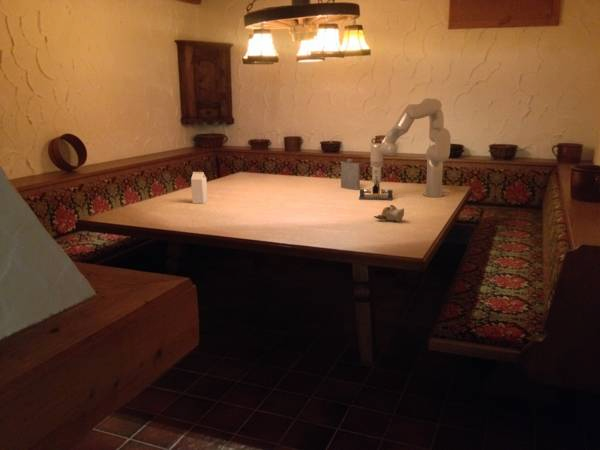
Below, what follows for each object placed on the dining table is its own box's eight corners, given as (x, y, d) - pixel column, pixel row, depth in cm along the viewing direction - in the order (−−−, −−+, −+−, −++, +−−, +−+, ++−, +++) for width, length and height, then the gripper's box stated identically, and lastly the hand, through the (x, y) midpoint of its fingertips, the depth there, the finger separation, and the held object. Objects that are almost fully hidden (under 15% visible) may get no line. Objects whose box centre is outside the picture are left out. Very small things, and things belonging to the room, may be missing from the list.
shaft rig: (392, 197, 330) (392, 187, 328) (392, 200, 321) (392, 190, 320) (360, 196, 334) (360, 187, 332) (359, 199, 326) (359, 189, 324)
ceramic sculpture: (399, 207, 265) (372, 205, 274) (399, 224, 267) (373, 222, 276) (408, 203, 274) (381, 202, 282) (408, 220, 276) (382, 218, 284)
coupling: (379, 195, 329) (380, 184, 327) (379, 196, 325) (379, 186, 323) (372, 195, 330) (372, 184, 328) (372, 196, 326) (372, 185, 324)
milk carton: (203, 203, 323) (201, 173, 318) (192, 203, 324) (190, 172, 320) (207, 201, 330) (205, 171, 325) (197, 201, 331) (195, 170, 326)
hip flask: (360, 189, 356) (360, 159, 351) (356, 190, 353) (356, 160, 348) (343, 186, 367) (343, 157, 362) (339, 187, 365) (339, 158, 359)
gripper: (381, 166, 313) (381, 194, 318) (383, 162, 330) (383, 189, 334) (369, 166, 315) (368, 194, 319) (371, 161, 331) (371, 188, 336)
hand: (376, 191), depth 327 cm, fingers open, 9 cm apart
